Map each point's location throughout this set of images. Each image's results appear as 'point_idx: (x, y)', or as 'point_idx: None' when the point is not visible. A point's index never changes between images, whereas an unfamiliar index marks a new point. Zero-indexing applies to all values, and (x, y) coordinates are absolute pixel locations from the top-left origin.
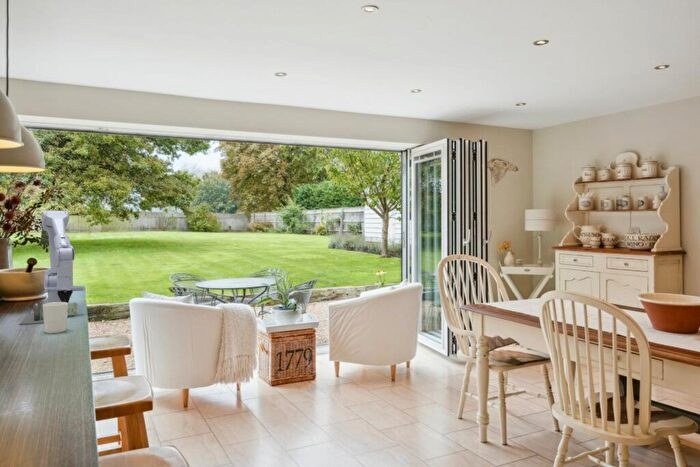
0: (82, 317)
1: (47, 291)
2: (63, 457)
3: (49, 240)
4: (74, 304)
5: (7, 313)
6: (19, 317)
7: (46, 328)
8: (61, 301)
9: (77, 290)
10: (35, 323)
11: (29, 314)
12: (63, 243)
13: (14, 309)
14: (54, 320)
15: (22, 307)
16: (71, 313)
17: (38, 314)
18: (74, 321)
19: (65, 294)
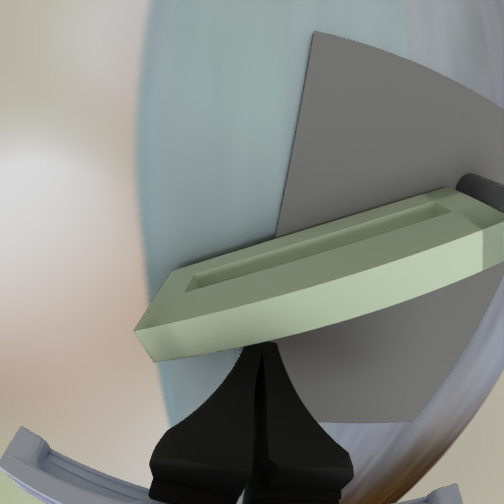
0: (140, 184)
1: (439, 498)
2: None
3: None
4: (163, 317)
5: (450, 442)
6: (471, 368)
7: None
8: (295, 395)
9: (92, 474)
10: (480, 97)
11: (429, 398)
12: None
13: (402, 481)
14: None
15: (371, 495)
16: (214, 262)
17: (494, 184)
18: (208, 29)
19: (245, 451)
